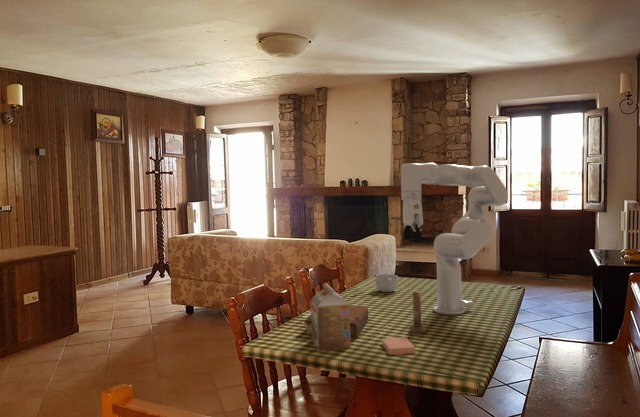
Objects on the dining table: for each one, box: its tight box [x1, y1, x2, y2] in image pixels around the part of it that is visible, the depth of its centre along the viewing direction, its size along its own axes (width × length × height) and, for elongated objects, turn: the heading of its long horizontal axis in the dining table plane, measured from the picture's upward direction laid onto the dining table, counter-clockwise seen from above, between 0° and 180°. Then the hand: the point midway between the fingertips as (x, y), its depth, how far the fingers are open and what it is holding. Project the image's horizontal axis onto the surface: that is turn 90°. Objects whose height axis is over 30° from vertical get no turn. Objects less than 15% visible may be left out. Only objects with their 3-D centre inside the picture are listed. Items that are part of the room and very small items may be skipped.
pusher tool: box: [408, 290, 427, 335], centre depth 164 cm, size 6×6×14 cm
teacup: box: [375, 273, 399, 293], centre depth 228 cm, size 14×11×8 cm
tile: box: [381, 336, 416, 355], centre depth 148 cm, size 8×2×10 cm
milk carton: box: [310, 283, 352, 352], centre depth 153 cm, size 10×10×19 cm
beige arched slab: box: [304, 305, 369, 339], centre depth 172 cm, size 23×19×6 cm
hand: (412, 240), depth 178 cm, fingers open, 9 cm apart
